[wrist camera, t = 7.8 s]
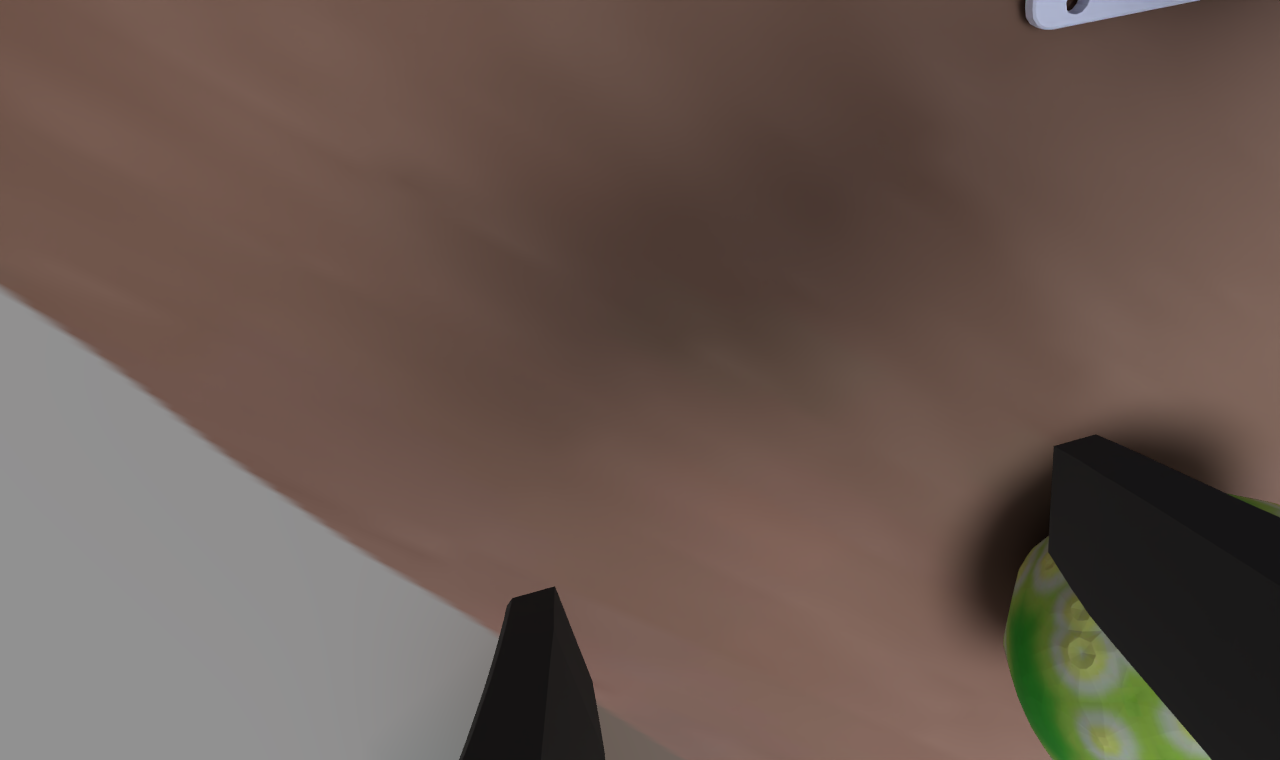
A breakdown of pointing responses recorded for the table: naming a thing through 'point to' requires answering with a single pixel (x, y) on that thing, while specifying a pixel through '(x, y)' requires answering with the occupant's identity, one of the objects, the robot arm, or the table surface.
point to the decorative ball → (1084, 675)
